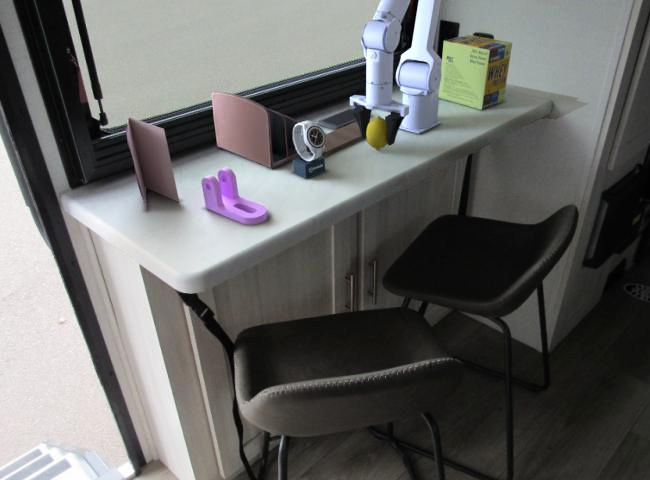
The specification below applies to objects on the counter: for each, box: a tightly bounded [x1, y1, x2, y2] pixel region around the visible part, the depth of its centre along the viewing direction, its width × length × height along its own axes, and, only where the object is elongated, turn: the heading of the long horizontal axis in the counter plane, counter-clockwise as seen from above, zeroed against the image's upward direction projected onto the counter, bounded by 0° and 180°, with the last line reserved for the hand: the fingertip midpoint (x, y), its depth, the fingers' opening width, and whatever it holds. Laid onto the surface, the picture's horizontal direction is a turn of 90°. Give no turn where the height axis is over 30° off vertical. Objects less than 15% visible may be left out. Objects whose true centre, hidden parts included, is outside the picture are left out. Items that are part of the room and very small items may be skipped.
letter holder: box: [211, 91, 301, 170], centre depth 131 cm, size 10×20×14 cm, turn 47°
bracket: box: [201, 167, 268, 225], centre depth 109 cm, size 13×6×7 cm, turn 52°
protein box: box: [438, 34, 513, 111], centre depth 157 cm, size 10×15×16 cm
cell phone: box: [317, 107, 357, 131], centre depth 150 cm, size 7×14×1 cm, turn 138°
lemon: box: [366, 115, 388, 151], centre depth 131 cm, size 6×6×8 cm
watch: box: [292, 120, 327, 180], centre depth 121 cm, size 6×8×11 cm
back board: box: [304, 122, 363, 157], centre depth 139 cm, size 20×8×1 cm, turn 138°
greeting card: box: [124, 116, 180, 210], centre depth 113 cm, size 11×7×15 cm, turn 16°
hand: (378, 141), depth 132 cm, fingers open, 6 cm apart
